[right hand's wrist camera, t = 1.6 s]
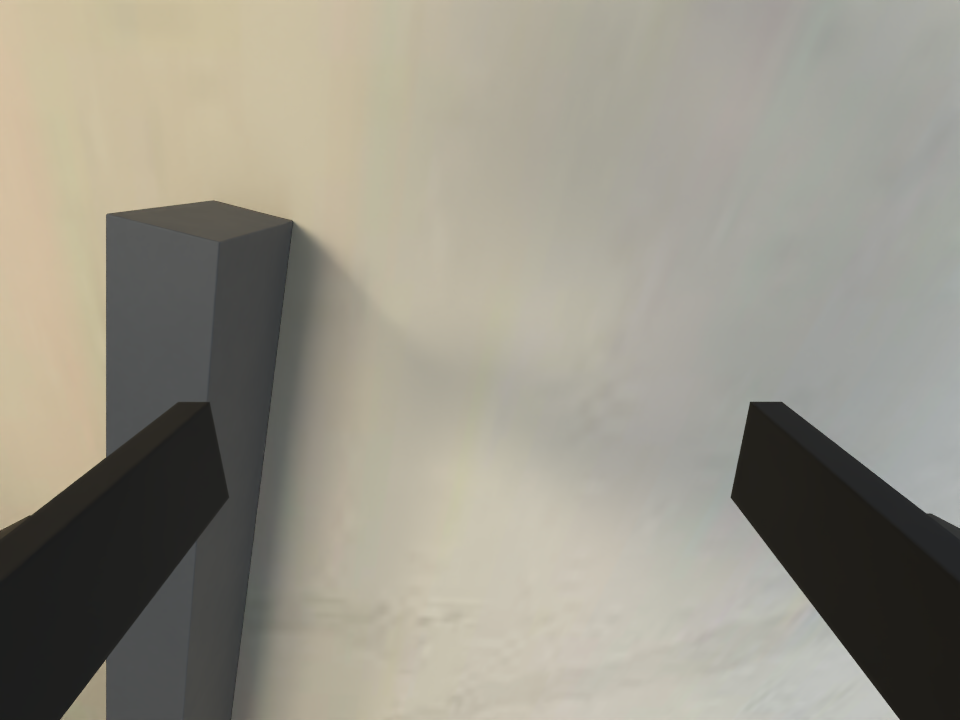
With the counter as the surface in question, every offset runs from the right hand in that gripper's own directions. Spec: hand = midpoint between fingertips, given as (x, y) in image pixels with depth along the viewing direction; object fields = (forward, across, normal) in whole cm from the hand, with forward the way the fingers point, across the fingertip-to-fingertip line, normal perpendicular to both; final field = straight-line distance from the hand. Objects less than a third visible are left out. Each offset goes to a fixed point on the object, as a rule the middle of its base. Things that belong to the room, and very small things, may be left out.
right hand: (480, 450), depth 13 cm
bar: (+18, -19, -22) cm, 35 cm away
